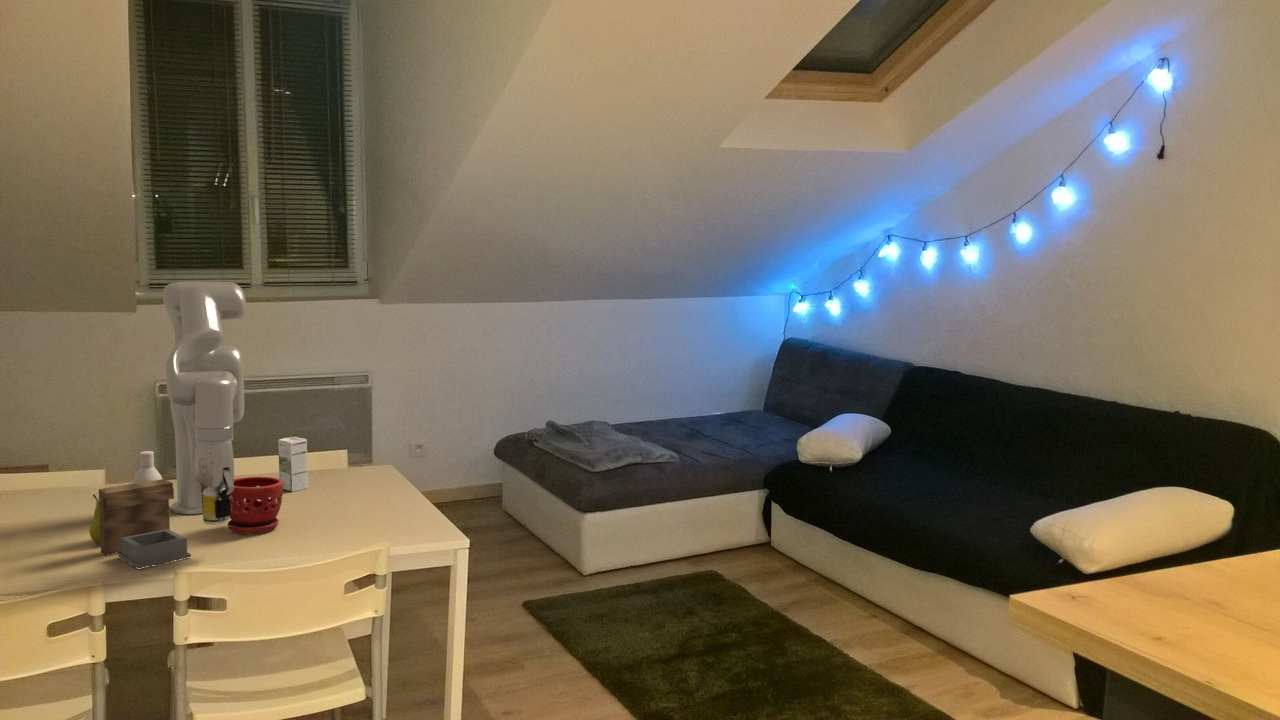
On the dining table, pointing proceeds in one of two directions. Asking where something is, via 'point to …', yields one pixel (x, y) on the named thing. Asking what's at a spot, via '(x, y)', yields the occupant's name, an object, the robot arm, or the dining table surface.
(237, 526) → the plant pot
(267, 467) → the dining table surface
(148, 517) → the wooden block
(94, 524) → the fruit
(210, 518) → the supplement bottle
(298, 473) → the syrup box
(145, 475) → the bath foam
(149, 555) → the socket
